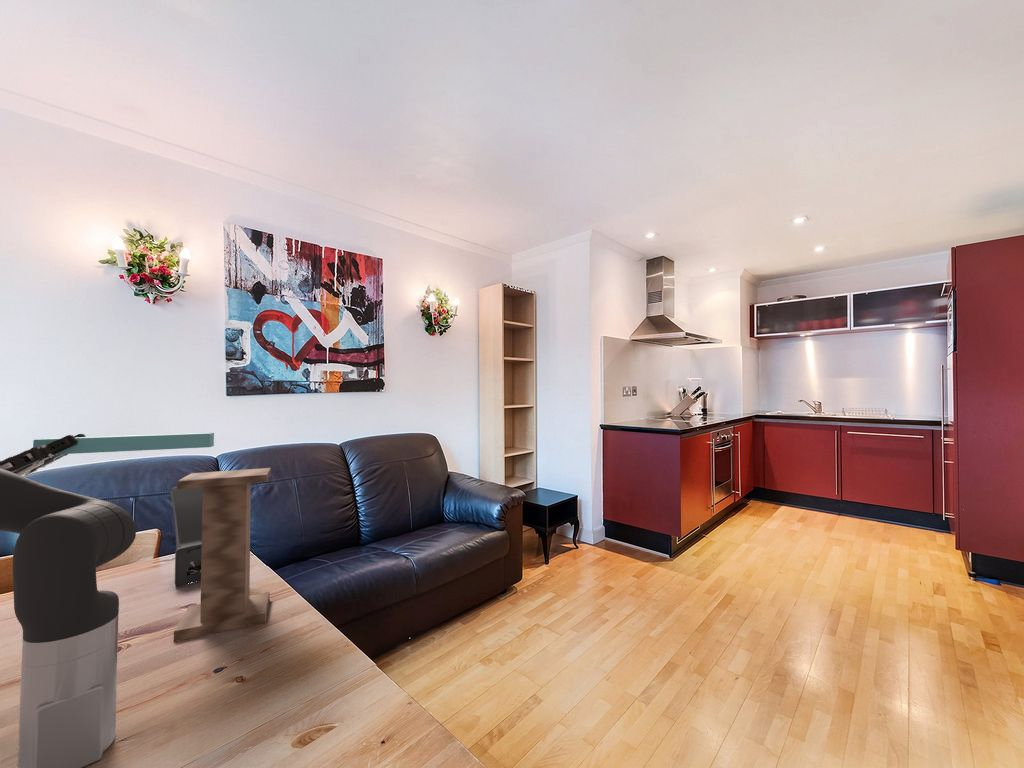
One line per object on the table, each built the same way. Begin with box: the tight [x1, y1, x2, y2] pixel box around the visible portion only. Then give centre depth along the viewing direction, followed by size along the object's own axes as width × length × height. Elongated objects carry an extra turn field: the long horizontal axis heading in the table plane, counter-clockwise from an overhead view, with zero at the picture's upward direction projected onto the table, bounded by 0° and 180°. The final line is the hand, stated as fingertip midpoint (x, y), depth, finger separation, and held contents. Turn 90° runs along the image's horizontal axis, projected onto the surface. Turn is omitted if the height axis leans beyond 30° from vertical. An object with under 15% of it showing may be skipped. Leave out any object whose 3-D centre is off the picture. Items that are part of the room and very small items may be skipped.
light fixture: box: [170, 486, 203, 588], centre depth 122 cm, size 11×17×24 cm, turn 48°
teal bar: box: [32, 432, 215, 455], centre depth 89 cm, size 28×4×3 cm, turn 116°
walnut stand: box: [173, 467, 272, 642], centre depth 95 cm, size 16×12×32 cm
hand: (79, 438), depth 86 cm, fingers closed on teal bar, 4 cm apart
